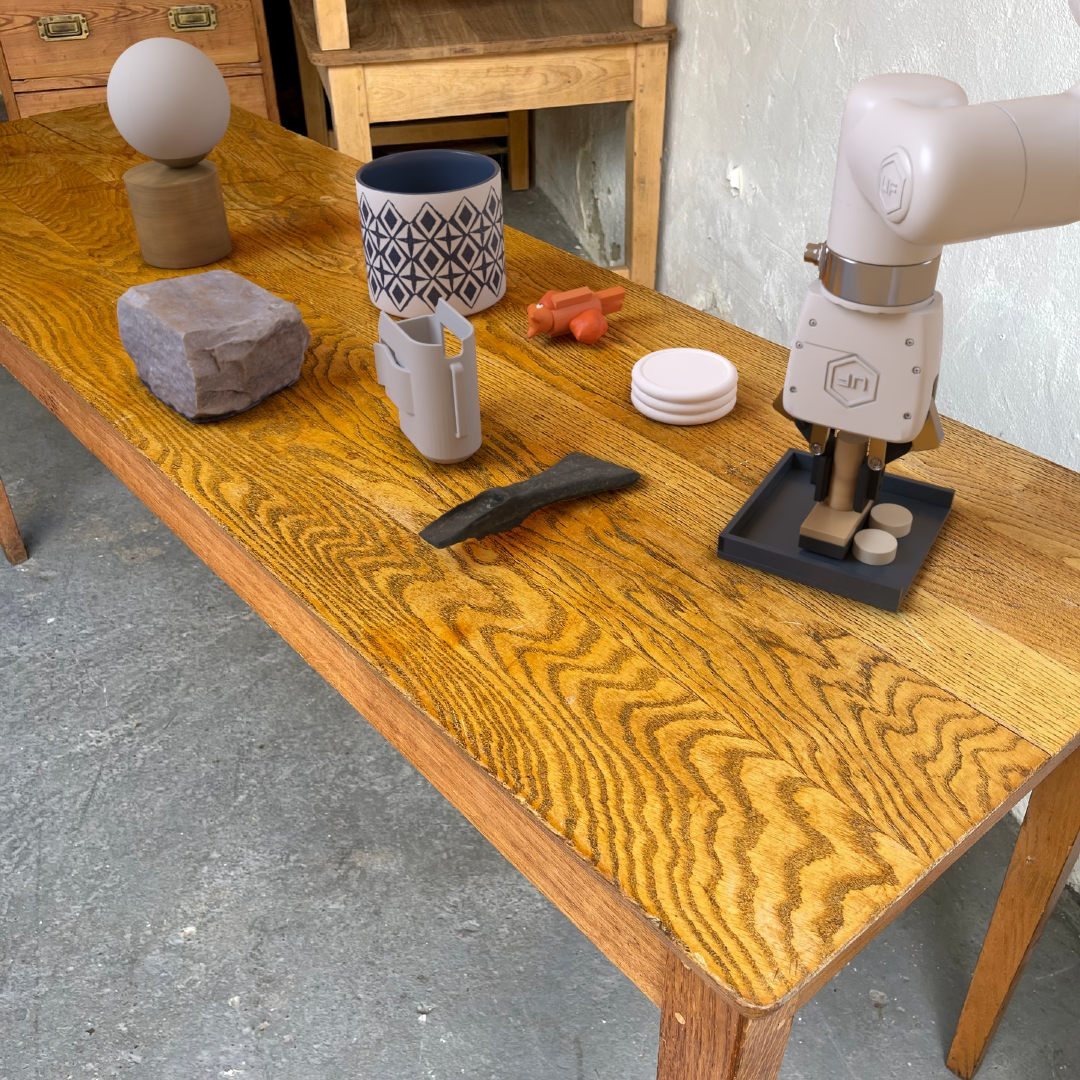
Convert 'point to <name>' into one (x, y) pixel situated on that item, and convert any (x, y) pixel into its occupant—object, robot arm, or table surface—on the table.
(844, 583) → the tray
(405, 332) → the cable organizer
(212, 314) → the stone block
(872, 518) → the disc
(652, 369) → the coaster
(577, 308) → the orange toy bird
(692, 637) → the table surface
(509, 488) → the tool
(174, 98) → the lamp
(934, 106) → the robot arm
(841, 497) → the brush
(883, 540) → the disc
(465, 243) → the planter
